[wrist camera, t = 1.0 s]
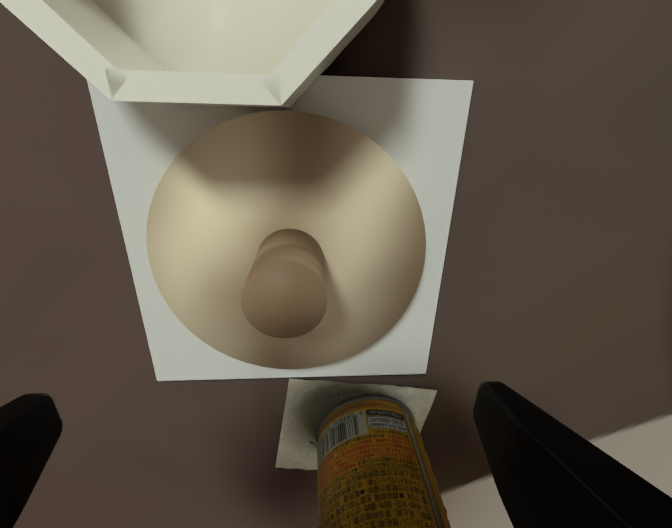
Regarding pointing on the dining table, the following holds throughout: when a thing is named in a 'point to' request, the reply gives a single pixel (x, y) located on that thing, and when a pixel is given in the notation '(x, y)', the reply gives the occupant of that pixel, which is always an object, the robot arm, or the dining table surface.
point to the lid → (286, 239)
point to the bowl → (198, 45)
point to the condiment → (363, 453)
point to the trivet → (321, 99)
